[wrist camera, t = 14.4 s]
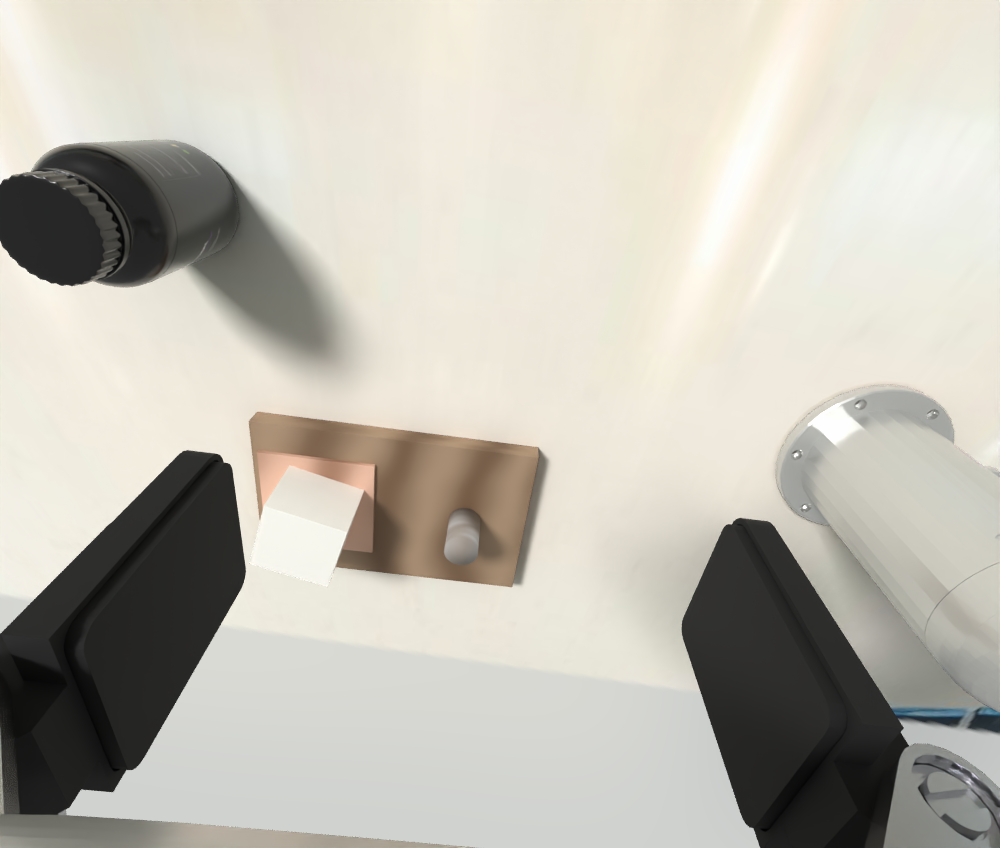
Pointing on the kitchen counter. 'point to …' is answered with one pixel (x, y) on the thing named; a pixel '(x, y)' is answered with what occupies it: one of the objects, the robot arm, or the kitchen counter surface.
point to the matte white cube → (305, 526)
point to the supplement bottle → (116, 212)
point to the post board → (410, 494)
